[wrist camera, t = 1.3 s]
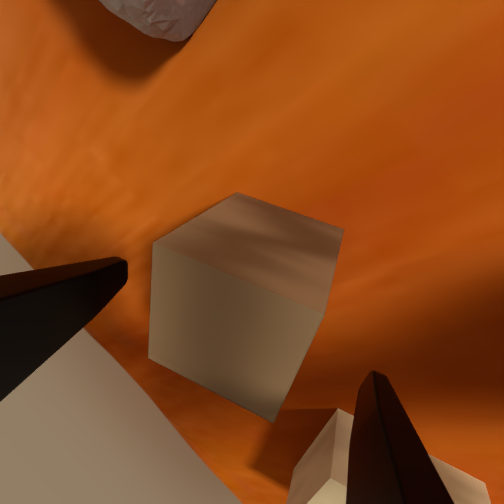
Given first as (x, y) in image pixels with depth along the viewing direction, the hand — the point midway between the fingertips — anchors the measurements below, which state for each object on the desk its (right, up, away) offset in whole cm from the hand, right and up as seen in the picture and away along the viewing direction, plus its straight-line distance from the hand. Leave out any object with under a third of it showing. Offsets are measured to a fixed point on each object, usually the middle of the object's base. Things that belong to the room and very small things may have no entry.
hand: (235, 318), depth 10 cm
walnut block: (+2, +2, +4) cm, 5 cm away
